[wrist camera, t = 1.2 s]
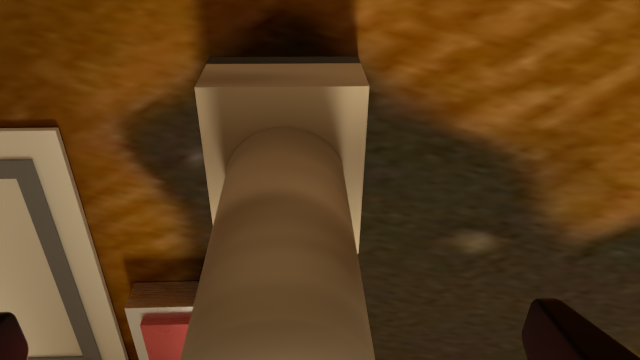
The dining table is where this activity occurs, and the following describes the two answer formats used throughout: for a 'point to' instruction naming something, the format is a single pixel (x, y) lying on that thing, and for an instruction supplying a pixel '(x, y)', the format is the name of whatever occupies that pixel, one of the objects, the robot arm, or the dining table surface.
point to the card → (51, 254)
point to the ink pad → (160, 318)
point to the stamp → (282, 210)
